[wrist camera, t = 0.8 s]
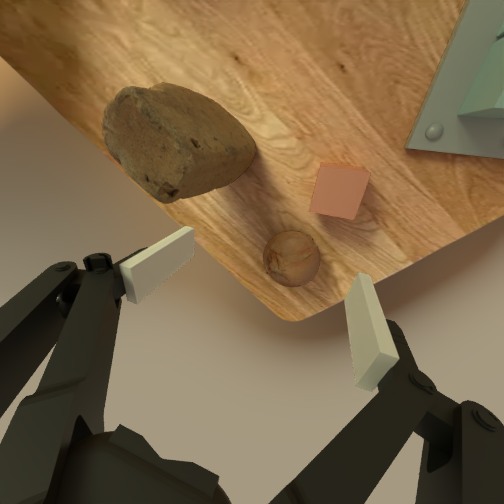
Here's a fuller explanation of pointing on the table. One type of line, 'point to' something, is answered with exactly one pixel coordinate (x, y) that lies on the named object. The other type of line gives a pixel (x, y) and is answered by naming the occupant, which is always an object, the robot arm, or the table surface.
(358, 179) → the brick block
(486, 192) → the table surface
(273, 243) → the onion
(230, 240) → the table surface
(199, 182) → the rough sandstone chunk
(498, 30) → the build plate
